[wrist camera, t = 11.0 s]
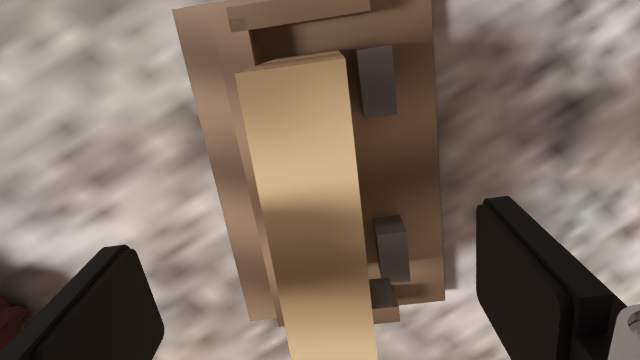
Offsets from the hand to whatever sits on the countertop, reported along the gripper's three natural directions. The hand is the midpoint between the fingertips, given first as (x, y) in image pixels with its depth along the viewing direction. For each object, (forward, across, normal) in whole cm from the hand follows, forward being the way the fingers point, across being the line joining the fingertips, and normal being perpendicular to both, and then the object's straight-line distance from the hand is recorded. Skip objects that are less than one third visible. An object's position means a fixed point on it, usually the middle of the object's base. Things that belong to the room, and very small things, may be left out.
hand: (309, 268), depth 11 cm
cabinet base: (+12, 0, +1) cm, 12 cm away
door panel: (+11, 0, +1) cm, 11 cm away
